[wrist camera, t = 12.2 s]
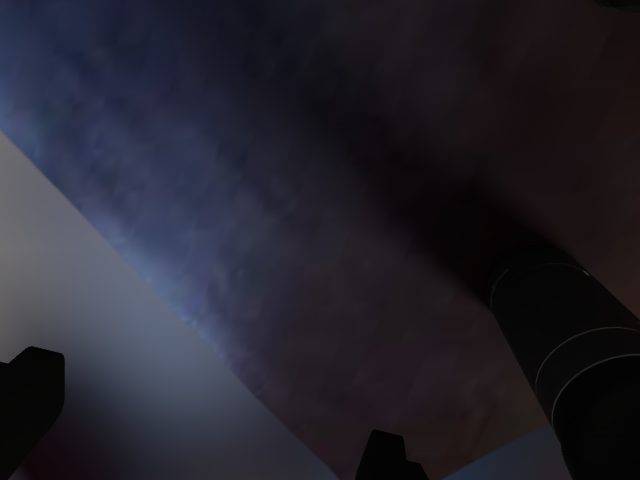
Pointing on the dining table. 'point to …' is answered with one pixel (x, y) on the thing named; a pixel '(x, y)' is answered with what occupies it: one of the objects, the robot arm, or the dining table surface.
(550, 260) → the robot arm
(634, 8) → the beverage cup
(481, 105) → the dining table surface
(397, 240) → the dining table surface
